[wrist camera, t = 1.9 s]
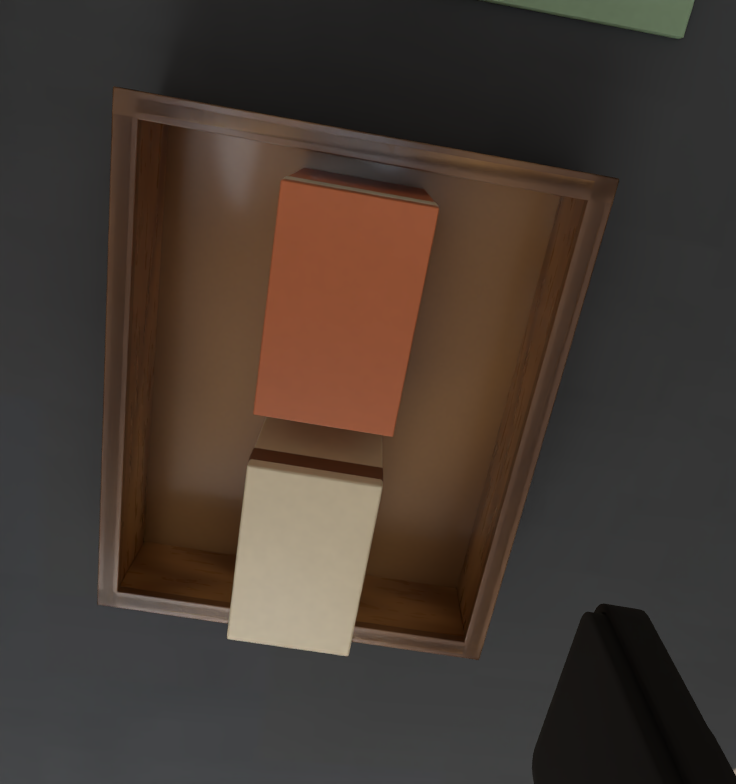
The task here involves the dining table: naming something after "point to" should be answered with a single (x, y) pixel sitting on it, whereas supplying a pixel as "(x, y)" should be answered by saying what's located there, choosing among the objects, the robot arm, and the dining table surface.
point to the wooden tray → (243, 344)
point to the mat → (618, 13)
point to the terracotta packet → (343, 300)
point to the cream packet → (305, 536)
